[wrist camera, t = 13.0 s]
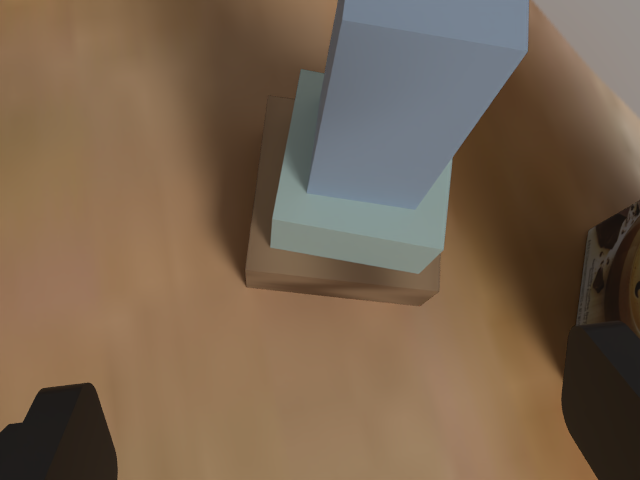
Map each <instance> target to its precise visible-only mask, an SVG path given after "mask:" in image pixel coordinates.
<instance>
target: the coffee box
mask: <svg viewBox="0 0 640 480" xmlns="http://www.w3.org/2000/svg"><path fill="white" fill-rule="evenodd" d="M610 321H622V322H623V323H625V324H626V325H627V326H628V327H629V328H630V329H631V330H632V331H633V332H634V333H635V334H636V335H637V337H638V338H639V339H640V200H639V201H638V202H636V203H634V204H632V205H631V206H630V207H628V208H626V209H624V210H623V211H621V212H619V213H617V214H616V215H614V216H612V217H610V218H609V219H607V220H605V221H603V222H602V223H600V224H598V225H596V226H595V227H593V228H591V229H590V230H589V231H588V237H587V244H586V252H585V260H584V268H583V276H582V283H581V291H580V298H579V306H578V314H577V321H576V326H577V325H585V324H593V323H602V322H610Z"/></svg>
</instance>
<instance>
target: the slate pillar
mask: <svg viewBox="0 0 640 480" xmlns="http://www.w3.org/2000/svg"><path fill="white" fill-rule="evenodd" d="M528 19H529V0H338V3H337V9H336V14H335V19H334V25H333V30H332V36H331V41H330V46H329V52H328V57H327V62H326V68H325V73H324V78H323V84H322V89H321V94H320V101H319V108H318V115H317V122H316V130H315V137H314V144H313V151H312V158H311V165H310V173H309V180H308V187H307V193H308V194H315V195H321V196H328V197H334V198H341V199H348V200H354V201H361V202H367V203H374V204H381V205H387V206H394V207H400V208H407V209H414V210H415V209H416V208H417V207H418V205H419V204H420V202H421V201H422V200H423V198H424V197H425V195H426V194H427V193H428V191H429V190H430V188H431V187H432V185H433V184H434V183H435V181H436V180H437V178H438V177H439V176H440V174H441V173H442V171H443V170H444V169H445V167H446V166H447V164H448V163H449V162H450V160H451V159H452V157H453V156H454V154H455V153H456V152H457V150H458V149H459V147H460V146H461V145H462V143H463V142H464V140H465V139H466V138H467V136H468V135H469V133H470V132H471V131H472V129H473V128H474V126H475V125H476V123H477V122H478V121H479V119H480V118H481V116H482V115H483V114H484V112H485V111H486V109H487V108H488V107H489V105H490V104H491V102H492V101H493V100H494V98H495V97H496V95H497V94H498V93H499V91H500V90H501V88H502V87H503V85H504V84H505V83H506V81H507V80H508V78H509V77H510V76H511V74H512V73H513V71H514V70H515V69H516V67H517V66H518V64H519V63H520V62H521V60H522V59H523V57H524V56H525V54H526V53H527V52H528Z"/></svg>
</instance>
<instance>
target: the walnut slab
mask: <svg viewBox="0 0 640 480" xmlns="http://www.w3.org/2000/svg"><path fill="white" fill-rule="evenodd" d="M294 103H295V99H290V98H283V97H275V96H268V99H267V107H266V115H265V122H264V130H263V138H262V145H261V153H260V161H259V168H258V176H257V183H256V191H255V199H254V206H253V214H252V222H251V229H250V237H249V245H248V252H247V260H246V268H245V274H246V287H248V288H257V289H266V290H275V291H284V292H293V293H302V294H312V295H321V296H330V297H339V298H348V299H357V300H366V301H376V302H385V303H394V304H403V305H412V306H421V305H422V304H423V303H425V302H426V301H427V300H429V299H430V298H431V297H433V296H434V295H435V294H437V293H438V292H439V287H440V256H441V253H440V254H439V255H438V256H437V257H436V258H435V259H434V260H433V261H432V262H431V263H430V264H429V265H427V266H426V267H425V268H424V269H423V270H422V271H421V272H420V273H419V274H416V273H410V272H405V271H399V270H393V269H388V268H382V267H377V266H371V265H365V264H360V263H354V262H349V261H343V260H337V259H332V258H326V257H320V256H315V255H309V254H304V253H298V252H292V251H287V250H281V249H275V248H270V244H271V229H272V217H273V212H274V207H275V202H276V197H277V191H278V186H279V181H280V176H281V171H282V165H283V160H284V155H285V150H286V144H287V139H288V134H289V129H290V124H291V118H292V113H293V108H294Z"/></svg>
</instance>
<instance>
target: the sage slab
mask: <svg viewBox="0 0 640 480" xmlns="http://www.w3.org/2000/svg"><path fill="white" fill-rule="evenodd" d="M323 78H324V73H319V72H314V71H309V70H304V69H301V71H300V77H299V82H298V87H297V92H296V98H295V103H294V108H293V113H292V118H291V124H290V129H289V134H288V139H287V144H286V150H285V155H284V160H283V165H282V171H281V176H280V181H279V186H278V191H277V197H276V202H275V207H274V212H273V217H272V229H271V244H270V248H275V249H281V250H287V251H292V252H298V253H304V254H309V255H315V256H320V257H326V258H332V259H337V260H343V261H349V262H354V263H360V264H365V265H371V266H377V267H382V268H388V269H393V270H399V271H405V272H410V273H416V274H419V273H420V272H421V271H422V270H423V269H424V268H425V267H426V266H427V265H429V264H430V263H431V262H432V261H433V260H434V259H435V258H436V257H437V256H438V255H439V254H440V253H441V252H442V251H443V250H444V240H445V230H446V220H447V209H448V199H449V189H450V179H451V168H452V159H451V160H450V162H449V163H448V164H447V166H446V167H445V169H444V170H443V171H442V173H441V174H440V176H439V177H438V178H437V180H436V181H435V183H434V184H433V185H432V187H431V188H430V190H429V191H428V193H427V194H426V195H425V197H424V198H423V200H422V201H421V202H420V204H419V205H418V207H417V208H416V209H415V210H414V209H407V208H400V207H394V206H387V205H381V204H374V203H367V202H361V201H354V200H348V199H341V198H334V197H328V196H321V195H315V194H308V193H307V187H308V180H309V173H310V165H311V158H312V151H313V144H314V137H315V130H316V122H317V115H318V108H319V101H320V94H321V89H322V84H323ZM452 158H453V157H452Z"/></svg>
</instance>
